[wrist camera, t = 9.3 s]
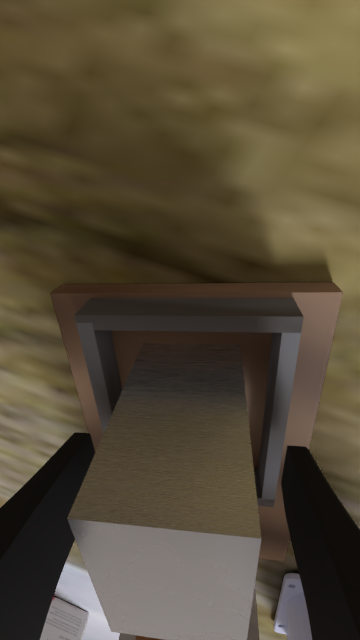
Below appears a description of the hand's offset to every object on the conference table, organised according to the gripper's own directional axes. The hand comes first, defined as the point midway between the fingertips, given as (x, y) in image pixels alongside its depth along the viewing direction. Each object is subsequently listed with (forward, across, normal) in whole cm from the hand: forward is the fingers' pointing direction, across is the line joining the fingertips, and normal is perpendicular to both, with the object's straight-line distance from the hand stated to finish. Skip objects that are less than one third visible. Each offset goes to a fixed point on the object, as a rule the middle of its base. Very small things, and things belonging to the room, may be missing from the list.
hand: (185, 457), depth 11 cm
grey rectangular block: (+3, 0, 0) cm, 3 cm away
